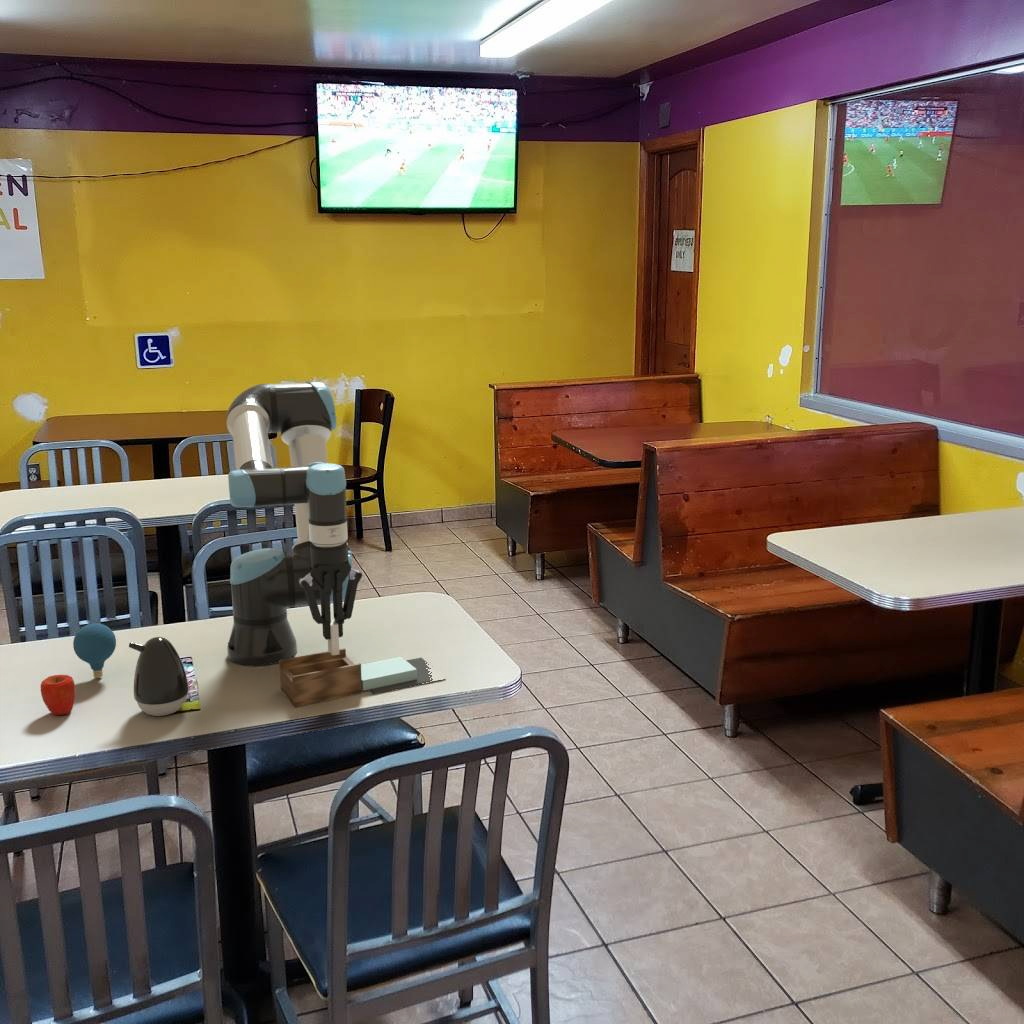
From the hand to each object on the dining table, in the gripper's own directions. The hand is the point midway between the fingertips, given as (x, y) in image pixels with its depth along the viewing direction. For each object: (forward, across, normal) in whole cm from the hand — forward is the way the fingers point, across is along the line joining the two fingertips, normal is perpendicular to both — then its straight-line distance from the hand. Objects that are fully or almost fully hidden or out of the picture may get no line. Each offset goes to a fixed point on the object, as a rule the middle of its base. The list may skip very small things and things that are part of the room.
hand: (333, 652), depth 210 cm
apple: (+8, -51, +14) cm, 54 cm away
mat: (+8, +14, -1) cm, 16 cm away
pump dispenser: (+8, -34, +5) cm, 35 cm away
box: (+8, -3, -1) cm, 8 cm away
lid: (+7, +10, -1) cm, 13 cm away
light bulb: (+8, -43, +29) cm, 52 cm away
